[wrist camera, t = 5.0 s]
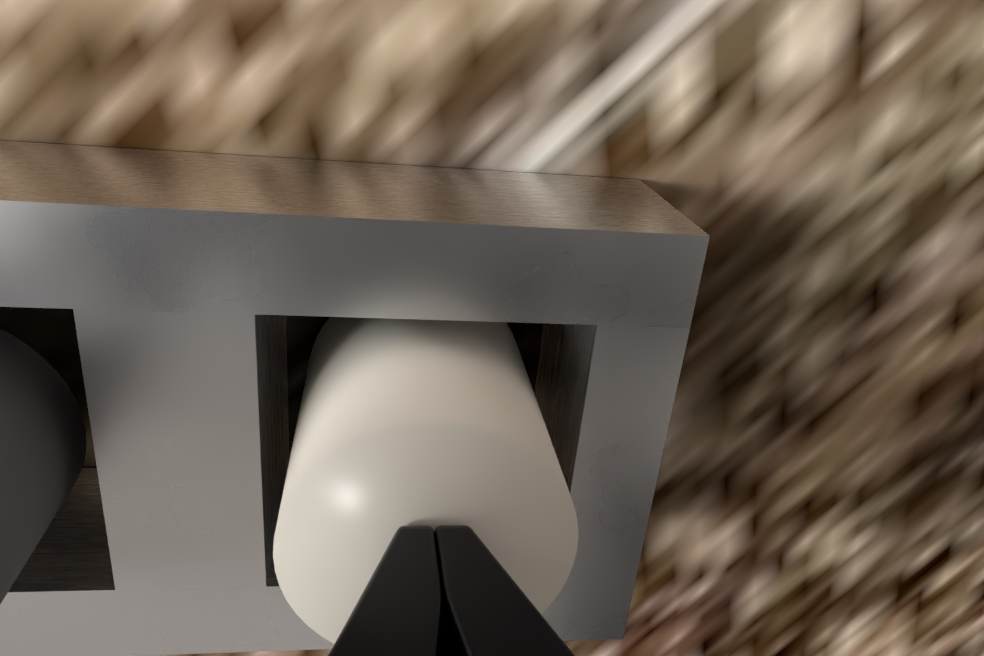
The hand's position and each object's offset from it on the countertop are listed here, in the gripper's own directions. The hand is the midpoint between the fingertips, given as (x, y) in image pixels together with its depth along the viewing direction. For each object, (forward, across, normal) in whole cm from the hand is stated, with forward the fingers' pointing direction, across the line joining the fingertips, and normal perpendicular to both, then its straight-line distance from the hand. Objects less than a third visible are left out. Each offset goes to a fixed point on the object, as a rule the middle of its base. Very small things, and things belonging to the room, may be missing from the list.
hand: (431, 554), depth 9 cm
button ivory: (+4, 0, 0) cm, 4 cm away
